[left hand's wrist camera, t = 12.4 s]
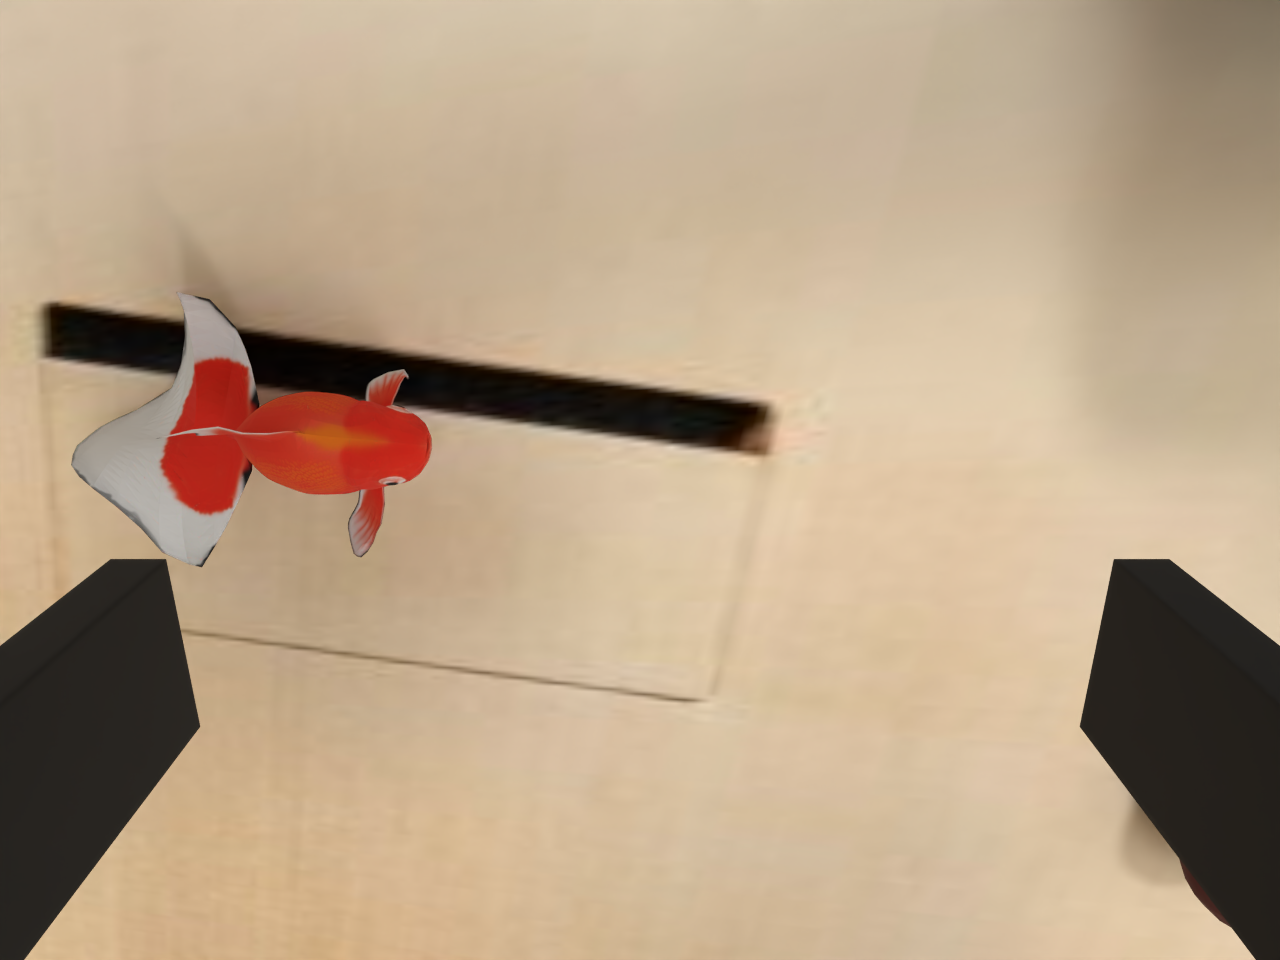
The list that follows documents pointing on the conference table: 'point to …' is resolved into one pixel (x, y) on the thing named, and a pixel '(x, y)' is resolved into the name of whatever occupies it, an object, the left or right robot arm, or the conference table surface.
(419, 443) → the fish
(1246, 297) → the conference table surface
